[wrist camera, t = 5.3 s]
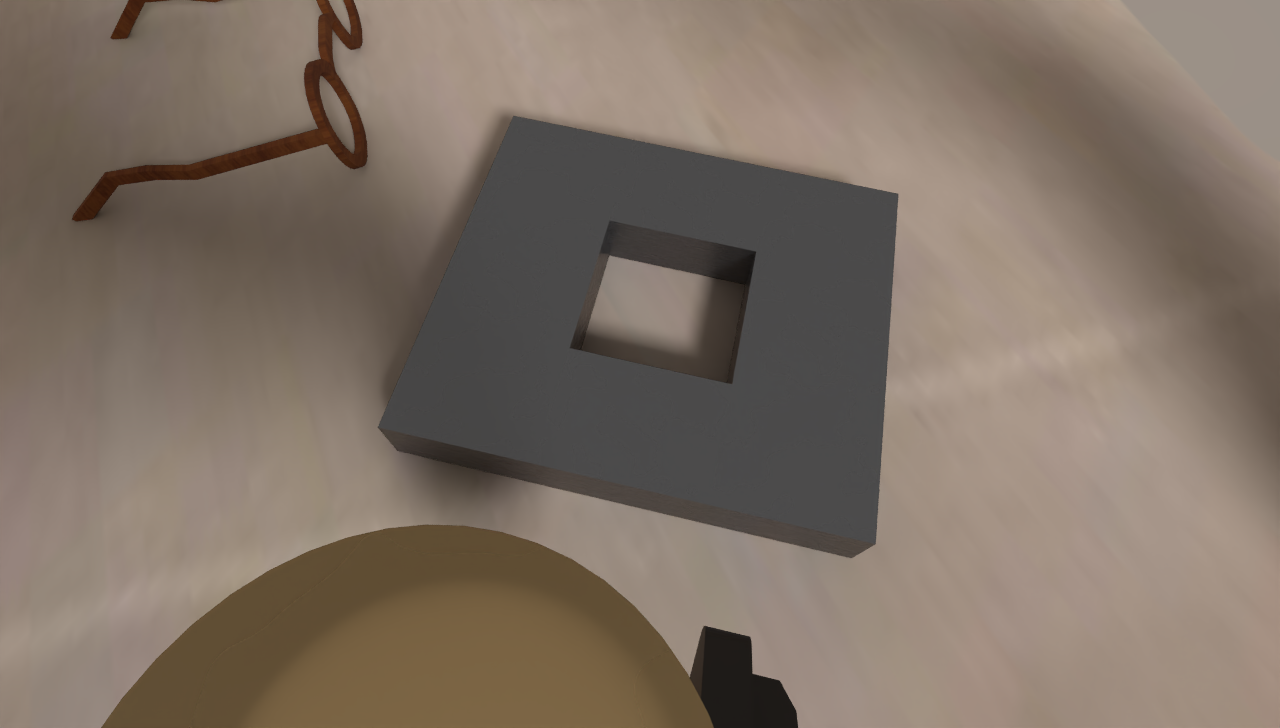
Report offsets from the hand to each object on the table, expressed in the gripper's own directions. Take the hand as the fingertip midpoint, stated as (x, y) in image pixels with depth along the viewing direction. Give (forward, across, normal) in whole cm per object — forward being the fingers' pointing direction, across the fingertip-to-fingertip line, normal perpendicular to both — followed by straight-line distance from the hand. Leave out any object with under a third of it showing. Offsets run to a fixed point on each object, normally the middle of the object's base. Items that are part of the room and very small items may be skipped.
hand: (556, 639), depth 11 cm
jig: (+20, 0, 0) cm, 20 cm away
